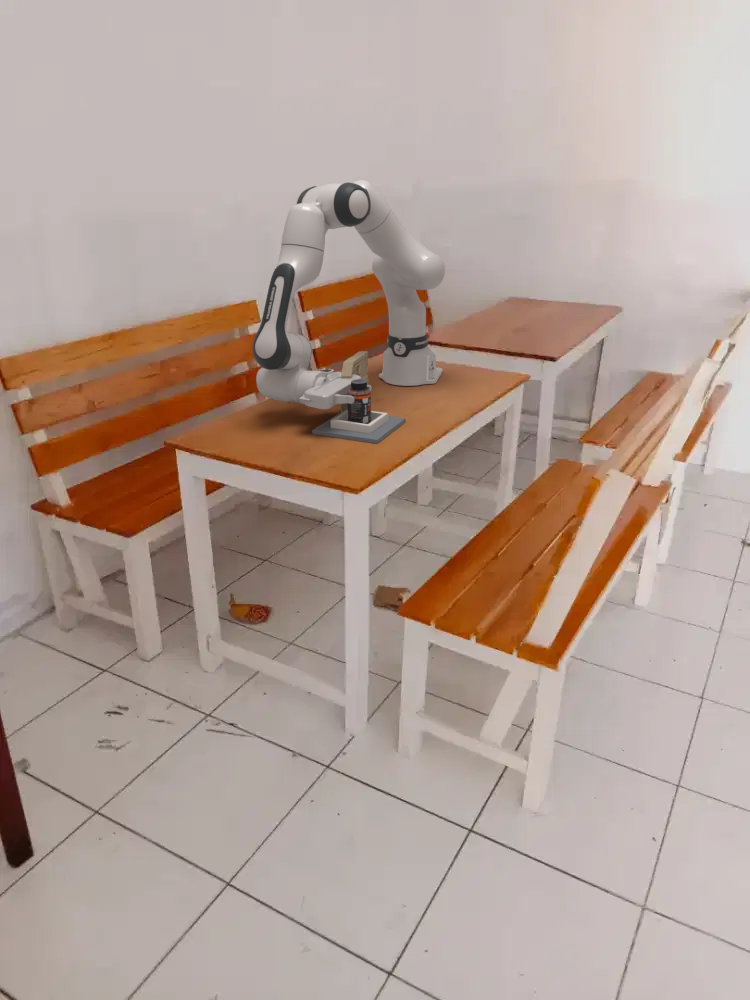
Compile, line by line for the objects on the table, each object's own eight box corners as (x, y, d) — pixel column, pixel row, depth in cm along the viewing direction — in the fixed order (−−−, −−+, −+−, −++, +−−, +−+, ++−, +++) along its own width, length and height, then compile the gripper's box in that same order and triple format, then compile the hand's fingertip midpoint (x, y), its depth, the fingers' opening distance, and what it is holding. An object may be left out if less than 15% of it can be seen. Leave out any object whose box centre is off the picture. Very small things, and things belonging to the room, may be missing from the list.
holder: (344, 413, 213) (344, 402, 212) (405, 421, 206) (405, 410, 205) (312, 434, 198) (311, 422, 197) (377, 443, 191) (377, 432, 190)
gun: (352, 421, 208) (351, 364, 203) (340, 420, 209) (339, 364, 204) (369, 402, 231) (369, 350, 226) (358, 401, 231) (357, 350, 226)
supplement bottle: (372, 427, 200) (372, 383, 195) (349, 428, 199) (348, 385, 194) (369, 419, 205) (368, 377, 200) (346, 421, 204) (345, 378, 200)
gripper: (293, 387, 194) (343, 393, 188) (331, 367, 211) (378, 372, 205) (294, 411, 196) (344, 418, 191) (332, 390, 213) (378, 395, 208)
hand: (362, 394), depth 198 cm, fingers open, 8 cm apart
